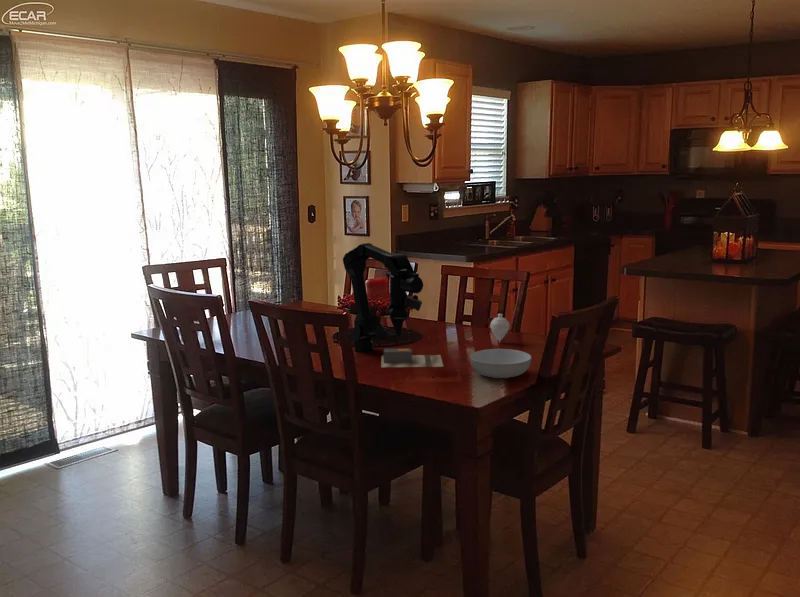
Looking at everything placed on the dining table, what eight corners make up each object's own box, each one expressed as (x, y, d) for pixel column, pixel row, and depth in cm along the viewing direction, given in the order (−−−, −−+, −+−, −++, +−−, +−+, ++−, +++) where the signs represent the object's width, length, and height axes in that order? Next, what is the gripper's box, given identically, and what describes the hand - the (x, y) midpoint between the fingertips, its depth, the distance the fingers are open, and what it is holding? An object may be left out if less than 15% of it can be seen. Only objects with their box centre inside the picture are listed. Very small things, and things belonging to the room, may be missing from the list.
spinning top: (488, 344, 292) (489, 315, 290) (491, 340, 299) (492, 311, 297) (507, 345, 290) (508, 316, 288) (510, 341, 297) (511, 312, 295)
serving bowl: (493, 363, 264) (493, 345, 263) (542, 374, 249) (543, 355, 248) (457, 375, 249) (457, 356, 248) (507, 387, 235) (507, 367, 234)
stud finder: (383, 363, 260) (383, 351, 259) (383, 359, 264) (383, 348, 264) (411, 362, 260) (411, 351, 259) (411, 359, 265) (411, 348, 264)
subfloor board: (381, 371, 254) (381, 367, 254) (381, 359, 270) (381, 355, 270) (443, 370, 255) (443, 366, 254) (440, 358, 271) (440, 354, 270)
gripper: (422, 294, 249) (422, 338, 252) (419, 285, 267) (419, 326, 270) (389, 294, 248) (390, 338, 251) (388, 285, 267) (389, 327, 270)
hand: (398, 332), depth 260 cm, fingers open, 9 cm apart
